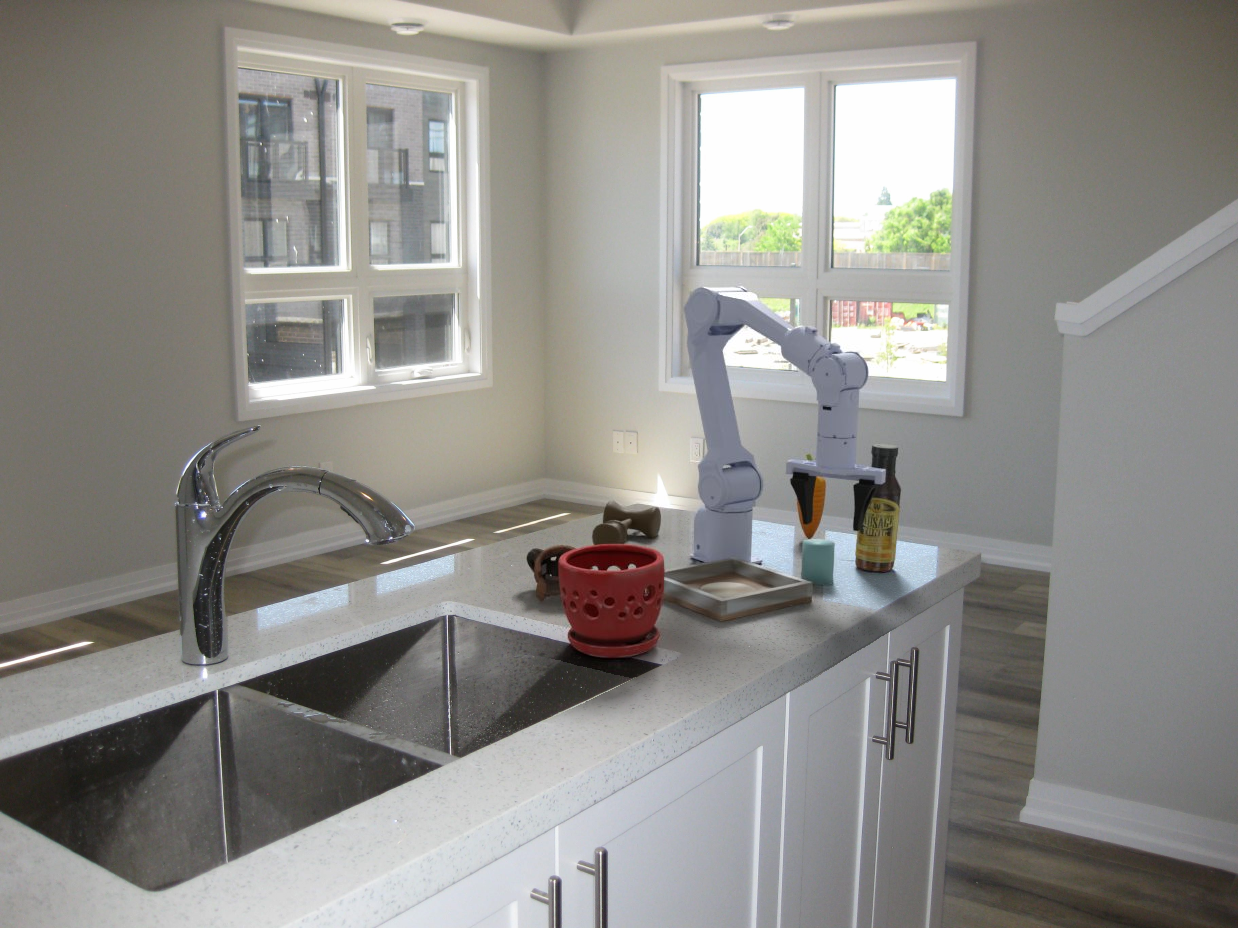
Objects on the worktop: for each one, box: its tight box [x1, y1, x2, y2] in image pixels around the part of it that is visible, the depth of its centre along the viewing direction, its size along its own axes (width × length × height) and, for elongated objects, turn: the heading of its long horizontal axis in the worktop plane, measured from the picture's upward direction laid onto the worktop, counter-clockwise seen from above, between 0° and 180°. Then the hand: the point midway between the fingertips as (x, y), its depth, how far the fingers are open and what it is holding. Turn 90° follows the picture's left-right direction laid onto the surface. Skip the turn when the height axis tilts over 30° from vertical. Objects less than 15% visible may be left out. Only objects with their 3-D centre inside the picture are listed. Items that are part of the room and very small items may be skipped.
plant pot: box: [558, 543, 666, 659], centre depth 143 cm, size 13×13×12 cm
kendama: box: [591, 500, 662, 545], centre depth 201 cm, size 6×10×20 cm
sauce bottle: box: [854, 443, 902, 573], centre depth 182 cm, size 7×6×20 cm
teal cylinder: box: [800, 538, 836, 586], centre depth 175 cm, size 5×5×6 cm
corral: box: [645, 557, 814, 622], centre depth 167 cm, size 17×17×3 cm
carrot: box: [796, 453, 827, 539], centre depth 201 cm, size 5×5×15 cm
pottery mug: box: [526, 544, 594, 603], centre depth 167 cm, size 12×10×8 cm
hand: (832, 526), depth 170 cm, fingers open, 7 cm apart
